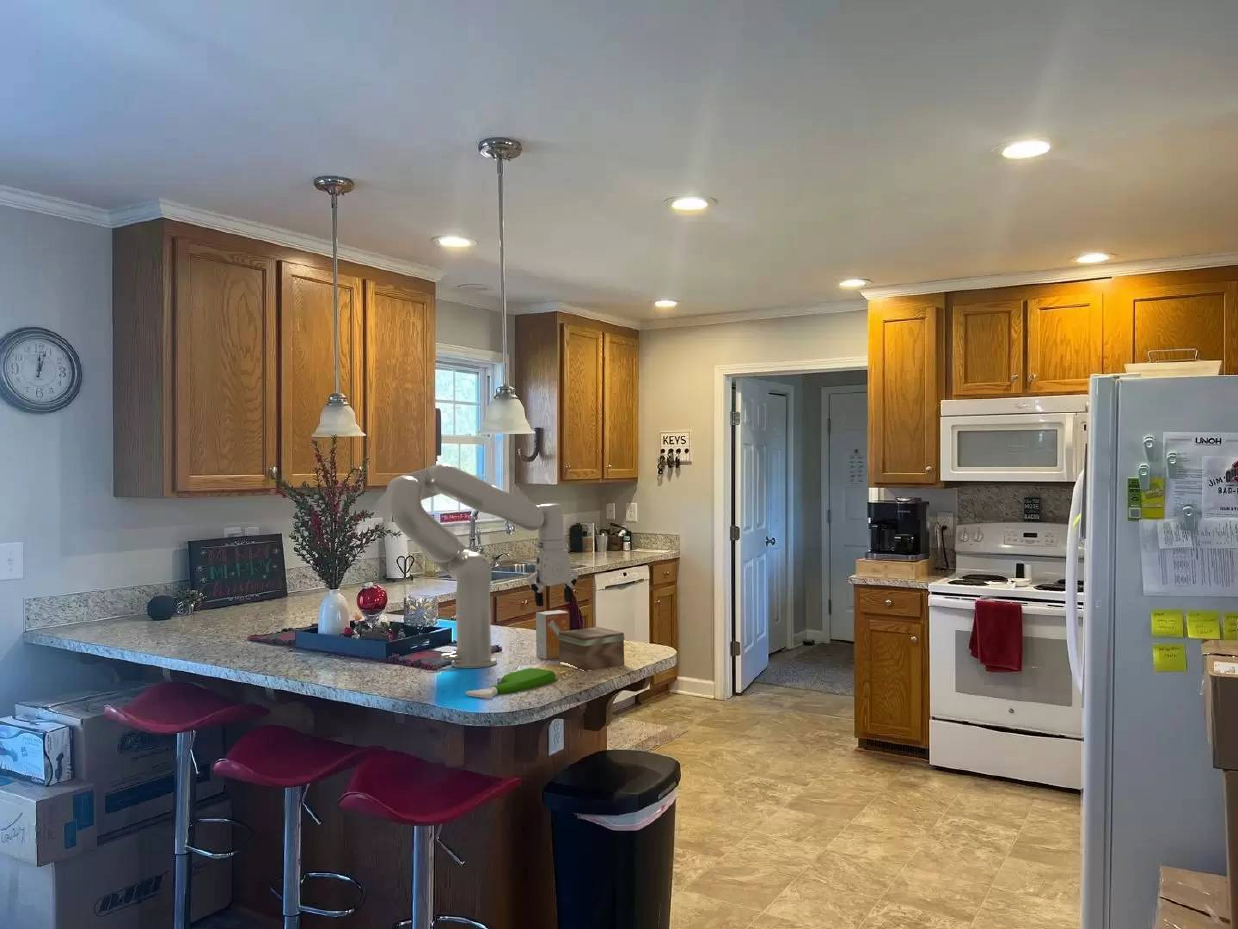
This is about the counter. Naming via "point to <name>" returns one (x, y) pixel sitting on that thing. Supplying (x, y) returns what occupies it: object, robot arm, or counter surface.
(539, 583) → the robot arm
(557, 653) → the small box
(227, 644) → the counter surface
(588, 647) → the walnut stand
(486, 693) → the green and white oblong
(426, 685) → the counter surface
